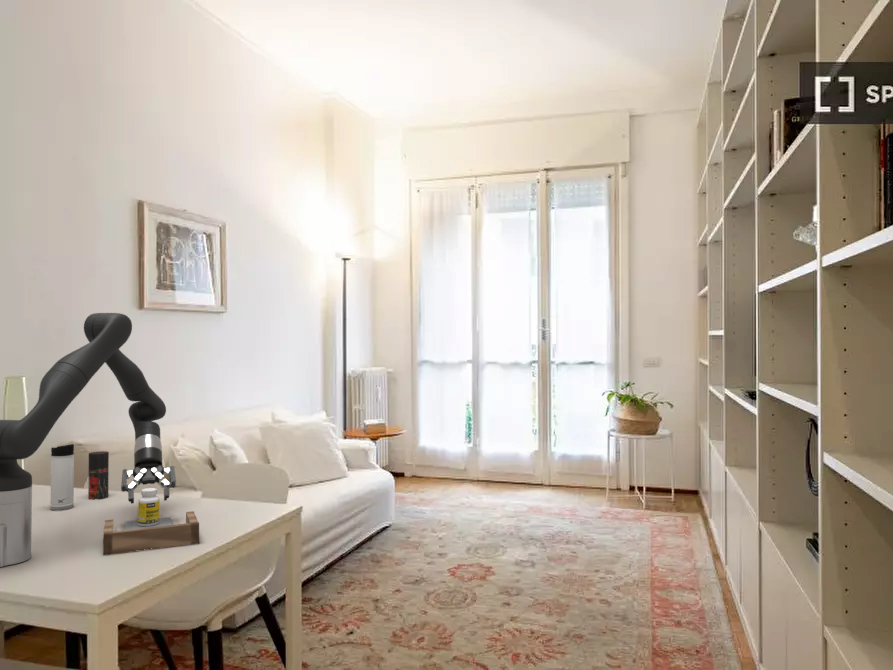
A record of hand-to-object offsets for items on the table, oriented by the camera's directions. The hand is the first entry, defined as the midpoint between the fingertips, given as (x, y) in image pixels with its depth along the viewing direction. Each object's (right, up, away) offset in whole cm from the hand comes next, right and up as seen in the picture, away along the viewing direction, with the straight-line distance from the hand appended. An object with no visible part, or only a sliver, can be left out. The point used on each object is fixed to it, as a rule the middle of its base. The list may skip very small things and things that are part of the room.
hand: (149, 500), depth 187 cm
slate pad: (0, -7, +1) cm, 8 cm away
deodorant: (-33, -8, +36) cm, 49 cm away
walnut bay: (+7, -7, -14) cm, 18 cm away
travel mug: (-37, -8, +21) cm, 43 cm away
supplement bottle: (-1, -7, +1) cm, 7 cm away
